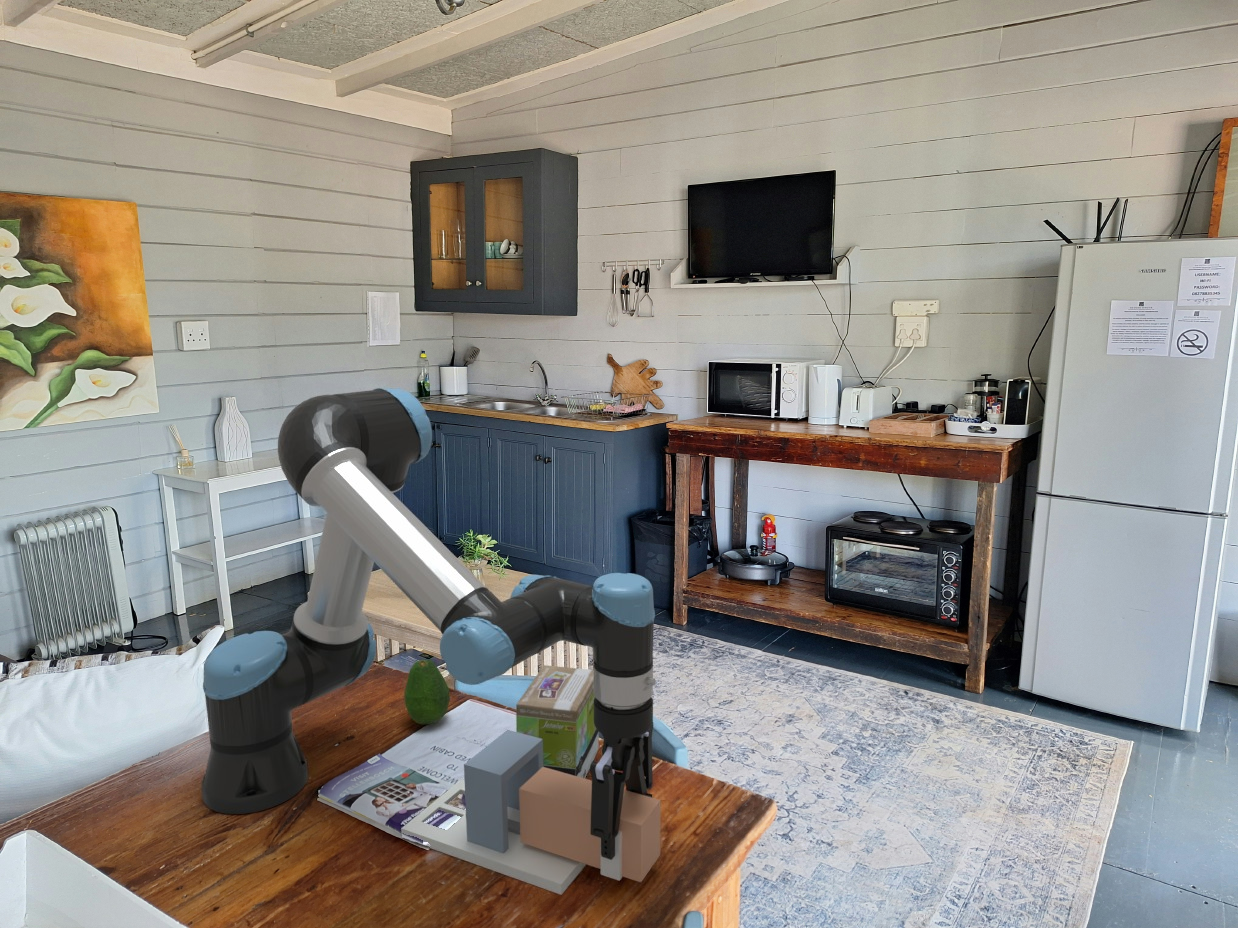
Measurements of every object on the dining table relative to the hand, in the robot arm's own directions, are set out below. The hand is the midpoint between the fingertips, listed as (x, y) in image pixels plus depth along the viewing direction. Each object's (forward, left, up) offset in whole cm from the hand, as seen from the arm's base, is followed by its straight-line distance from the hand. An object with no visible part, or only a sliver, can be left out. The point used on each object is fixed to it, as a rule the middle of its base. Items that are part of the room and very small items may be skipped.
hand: (623, 859), depth 110 cm
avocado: (-49, +21, -2) cm, 54 cm away
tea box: (-20, +18, -2) cm, 27 cm away
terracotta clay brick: (-5, 0, 0) cm, 5 cm away
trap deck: (-18, 0, -2) cm, 18 cm away
